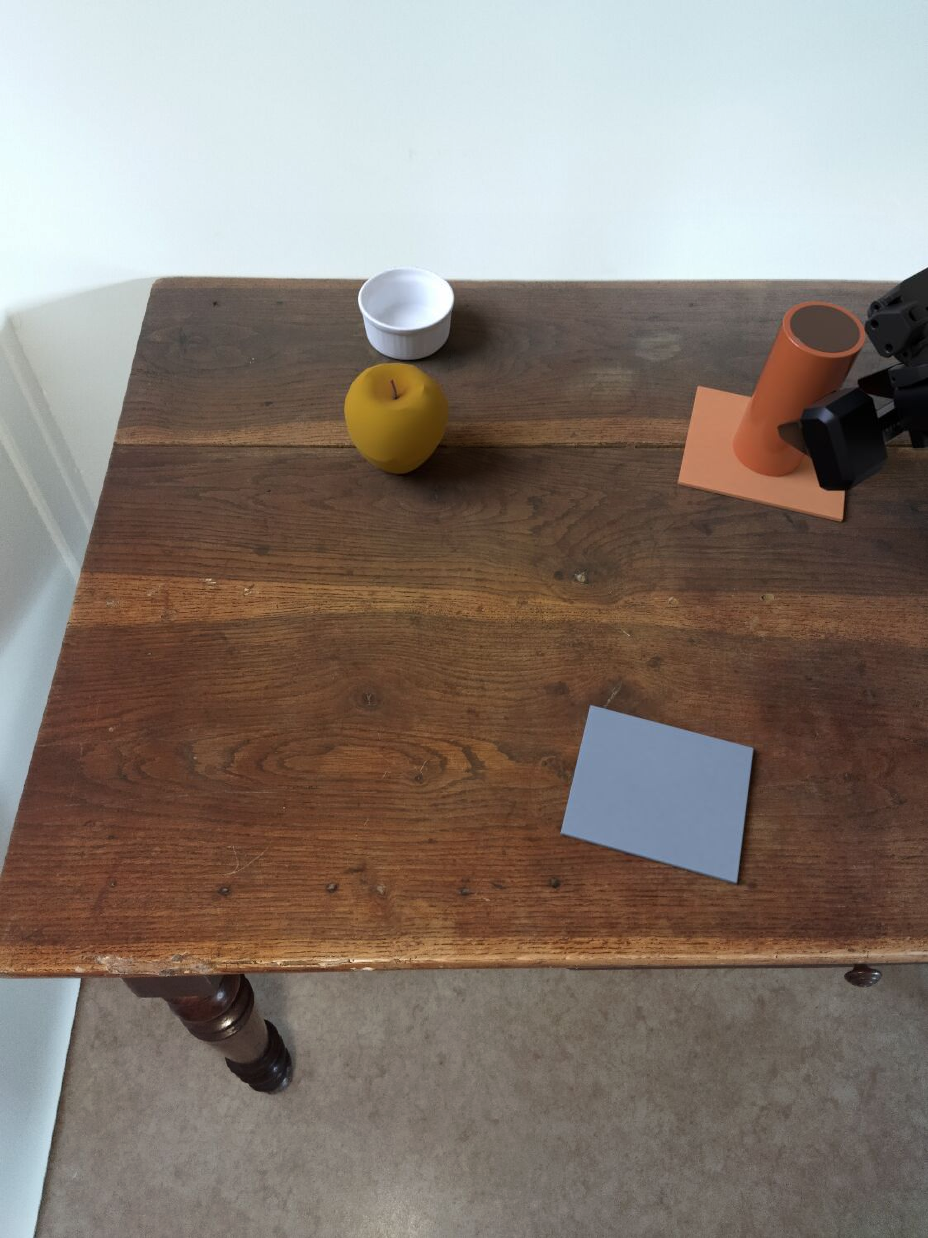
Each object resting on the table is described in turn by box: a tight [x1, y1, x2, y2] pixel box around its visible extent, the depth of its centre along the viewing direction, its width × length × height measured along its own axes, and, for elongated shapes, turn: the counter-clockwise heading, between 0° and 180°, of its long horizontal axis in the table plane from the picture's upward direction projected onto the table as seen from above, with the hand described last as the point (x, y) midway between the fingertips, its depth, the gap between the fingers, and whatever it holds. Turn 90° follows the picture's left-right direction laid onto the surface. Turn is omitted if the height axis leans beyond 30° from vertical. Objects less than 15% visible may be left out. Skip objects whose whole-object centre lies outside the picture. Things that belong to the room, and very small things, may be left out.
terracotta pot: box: [733, 300, 867, 476], centre depth 72 cm, size 6×6×14 cm
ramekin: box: [357, 266, 455, 361], centre depth 84 cm, size 9×9×4 cm
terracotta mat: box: [677, 385, 846, 523], centre depth 78 cm, size 14×12×1 cm
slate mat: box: [560, 704, 754, 885], centre depth 62 cm, size 12×10×1 cm
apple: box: [343, 362, 450, 475], centre depth 74 cm, size 8×8×9 cm
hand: (820, 407), depth 71 cm, fingers open, 9 cm apart
